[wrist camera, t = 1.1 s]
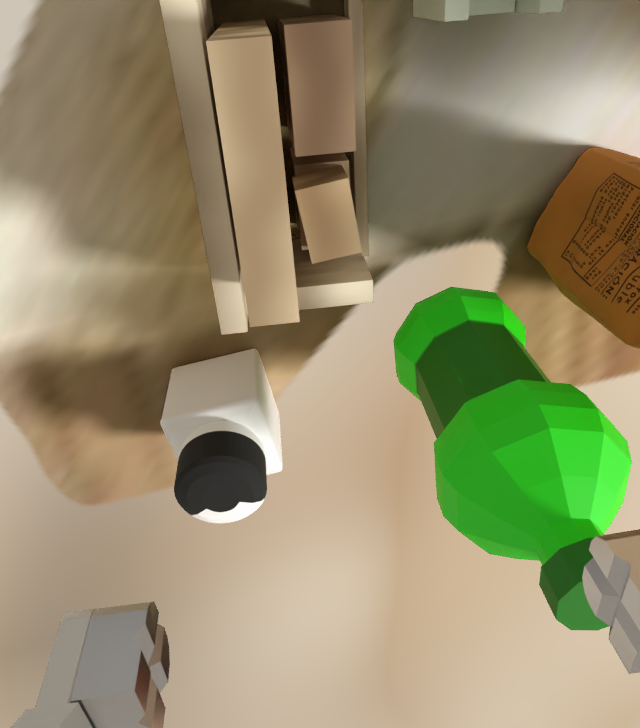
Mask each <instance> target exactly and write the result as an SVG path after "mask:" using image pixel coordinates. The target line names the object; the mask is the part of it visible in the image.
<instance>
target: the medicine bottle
mask: <svg viewBox="0 0 640 728" xmlns="http://www.w3.org/2000/svg"><path fill="white" fill-rule="evenodd" d="M160 424H161V427H162V429H163V431H164V433H165V435H166V437H167V439H168V441H169V443H170V446H171V448H172V450H173V452H174V454H175V456H176V458H177V460H178V466H177V473H176V479H175V486H174V492H175V497H176V499H177V501H178V503H179V504H180V505H181V507H182V508H183V509H184V510H185V511H186V512H188V513H189V514H190V515H192V516H194V517H195V518H198V519H200V520H203V521H206V522H212V523H228V522H234V521H237V520H240V519H243V518H245V517H247V516H248V515H250V514H251V513H253V512H254V511H255V510H257V509H258V508H259V506H260V505H261V504H262V502H263V501H264V499H265V496H266V491H267V482H266V475H268V474H272V473H276V472H280V471H281V470H282V451H281V436H280V420H279V412H278V409H277V406H276V403H275V400H274V397H273V394H272V391H271V388H270V385H269V382H268V379H267V376H266V373H265V370H264V367H263V364H262V361H261V358H260V355H259V352H258V351H257V349H250V350H246V351H241V352H237V353H233V354H229V355H225V356H221V357H217V358H212V359H208V360H204V361H200V362H196V363H192V364H188V365H184V366H179V367H175V368H173V369H172V370H171V373H170V378H169V382H168V387H167V392H166V397H165V401H164V406H163V411H162V415H161V420H160Z"/></svg>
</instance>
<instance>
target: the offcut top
mask: <svg viewBox="0 0 640 728" xmlns="http://www.w3.org/2000/svg"><path fill="white" fill-rule="evenodd" d="M292 180H293V185H294V189H295V194H296V198H297V202H298V207H299V211H300V215H301V219H302V224H303V228H304V232H305V236H306V241H307V245H308V249H309V253H310V258H311V262H312V264H314V263H318V262H323V261H327V260H331V259H335V258H340V257H344V256H348V255H352V254H356V253H361V252H362V250H361V244H360V239H359V233H358V228H357V222H356V217H355V211H354V206H353V200H352V195H351V189H350V184H349V178H348V176H347V174H346V172H345V170H344V168H343V166H342V165H340V166H336V167H332V168H328V169H323V170H319V171H315V172H311V173H307V174H303V175H299V176H295V177H292Z"/></svg>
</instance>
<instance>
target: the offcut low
mask: <svg viewBox="0 0 640 728" xmlns="http://www.w3.org/2000/svg"><path fill="white" fill-rule="evenodd" d="M290 154H291V165H292V176H293V177H295V176H299V175H303V174H307V173H311V172H315V171H319V170H323V169H328V168H332V167H336V166H340V165H342V166H343V168H344V170H345V172H346V174H347V176H348V178H349V184H350V173H349V159H348V158H347V156H346V154H345V152H342V153H331V154H321V155H310V156H300V157H296V156H295V152H294V148H293V146H290ZM293 187H294V185H293ZM294 197H295V208H296V219H297V227H298V232H299V237H300V242H301V248H302V250H308V245H307V241H306V236H305V232H304V228H303V224H302V219H301V215H300V211H299V207H298V202H297V198H296V194H295V189H294Z"/></svg>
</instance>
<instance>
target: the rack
mask: <svg viewBox="0 0 640 728" xmlns="http://www.w3.org/2000/svg"><path fill="white" fill-rule="evenodd" d="M159 1H160V6H161V12H162V17H163V22H164V28H165V33H166V38H167V44H168V49H169V55H170V60H171V65H172V71H173V76H174V81H175V87H176V92H177V98H178V103H179V108H180V114H181V119H182V125H183V130H184V135H185V141H186V146H187V151H188V157H189V162H190V168H191V173H192V178H193V184H194V189H195V194H196V200H197V205H198V211H199V216H200V221H201V227H202V232H203V237H204V243H205V248H206V254H207V259H208V264H209V270H210V275H211V281H212V286H213V291H214V297H215V302H216V307H217V313H218V318H219V324H220V329H221V334H222V335H224V334H233V333H243V332H248V311H247V305H246V298H245V292H244V285H243V279H242V272H241V266H240V259H239V253H238V246H237V240H236V233H235V227H234V220H233V214H232V207H231V201H230V194H229V188H228V181H227V175H226V168H225V162H224V155H223V149H222V142H221V136H220V129H219V123H218V116H217V110H216V103H215V97H214V90H213V84H212V77H211V71H210V64H209V58H208V51H207V45H206V41H207V40H208V39H209V38H210V37H211V35H212V34H213V33H214V32H215V30H214V23H213V16H212V9H211V2H210V0H159ZM344 17H345V18H349V19H352V45H353V75H354V105H355V136H356V151H352V152H350V176H351V195H352V200H353V206H354V211H355V217H356V222H357V228H358V233H359V239H360V244H361V250H362V252H361V253H356V254H352V255H348V256H344V257H340V258H335V259H331V260H327V261H323V262H318V263H314V264H312V262H311V258H310V253H309V249H308V250H302V248H301V242H300V239H292V248H293V258H294V268H295V278H296V288H297V298H298V308H299V310H306V309H316V308H325V307H334V306H344V305H353V304H362V303H371V302H373V279H372V276H371V274H370V272H369V269H368V267H367V264H366V262H365V260H364V256H369V241H368V199H367V156H366V114H365V72H364V29H363V0H344Z"/></svg>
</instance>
